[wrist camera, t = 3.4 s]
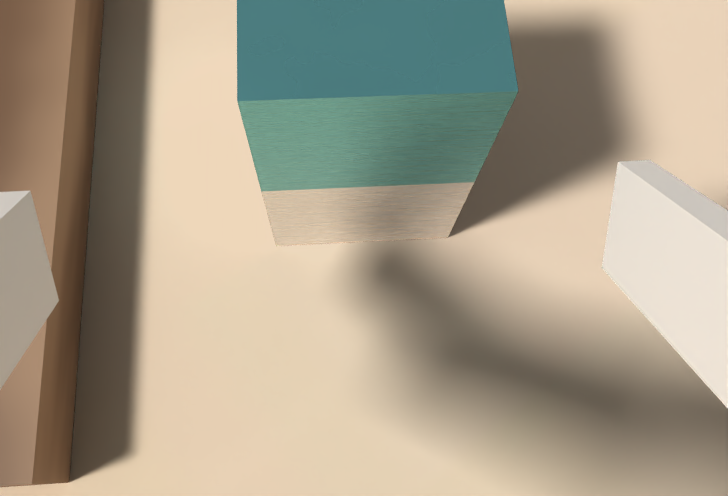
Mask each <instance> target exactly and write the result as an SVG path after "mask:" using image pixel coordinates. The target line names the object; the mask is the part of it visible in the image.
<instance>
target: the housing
mask: <svg viewBox="0 0 728 496" xmlns="http://www.w3.org/2000/svg"><path fill="white" fill-rule="evenodd" d="M517 93H518V86H517V80H516V73H515V67H514V61H513V55H512V49H511V42H510V36H509V30H508V24H507V18H506V11H505V5H504V0H237V101H238V105H239V109H240V112H241V116H242V120H243V124H244V128H245V131H246V135H247V139H248V143H249V146H250V150H251V154H252V158H253V161H254V165H255V169H256V173H257V176H258V180H259V184H260V188H261V191H262V195H263V199H264V203H265V206H266V210H267V214H268V218H269V221H270V225H271V229H272V233H273V237H274V240H275V244H276V246H289V245H310V244H330V243H351V242H371V241H392V240H413V239H433V238H448V236H449V234H450V232H451V230H452V228H453V226H454V224H455V222H456V219H457V217H458V215H459V213H460V211H461V209H462V207H463V205H464V203H465V201H466V199H467V197H468V195H469V193H470V190H471V188H472V186H473V184H474V182H475V180H476V178H477V176H478V174H479V172H480V170H481V168H482V166H483V164H484V161H485V159H486V157H487V155H488V153H489V151H490V149H491V147H492V145H493V143H494V141H495V139H496V137H497V135H498V132H499V130H500V128H501V126H502V124H503V122H504V120H505V118H506V116H507V114H508V112H509V110H510V108H511V106H512V103H513V101H514V99H515V97H516V95H517Z"/></svg>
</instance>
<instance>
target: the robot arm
mask: <svg viewBox="0 0 728 496" xmlns="http://www.w3.org/2000/svg"><path fill="white" fill-rule="evenodd" d="M602 269H603V270H604V271H605V272H606V273H607V274H608V275H609V277H610V278H611V279H612V280H613V281H614V282H615V283H616V284H617V285H618V287H619V288H620V289H621V290H622V291H623V292H624V293H625V294H626V296H627V297H628V298H629V299H630V300H631V301H632V302H633V303H634V304H635V306H636V307H637V308H638V309H639V310H640V311H641V312H642V313H643V315H644V316H645V317H646V318H647V319H648V320H649V321H650V322H651V323H652V325H653V326H654V327H655V328H656V329H657V330H658V331H659V332H660V334H661V335H662V336H663V337H664V338H665V339H666V340H667V341H668V342H669V344H670V345H671V346H672V347H673V348H674V349H675V350H676V351H677V353H678V354H679V355H680V356H681V357H682V358H683V359H684V360H685V361H686V363H687V364H688V365H689V366H690V367H691V368H692V369H693V370H694V372H695V373H696V374H697V375H698V376H699V377H700V378H701V379H702V380H703V382H704V383H705V384H706V385H707V386H708V387H709V388H710V389H711V391H712V392H713V393H714V394H715V395H716V396H717V397H718V398H719V399H720V401H721V402H722V403H723V404H724V405H725V406H726V407H727V408H728V210H726V209H724V208H723V207H721V206H720V205H718V204H717V203H715V202H714V201H712V200H711V199H709V198H708V197H706V196H705V195H703V194H701V193H700V192H698V191H697V190H695V189H694V188H692V187H691V186H689V185H688V184H686V183H685V182H683V181H682V180H680V179H678V178H677V177H675V176H674V175H672V174H671V173H669V172H668V171H666V170H665V169H663V168H662V167H660V166H659V165H657V164H655V163H654V162H652V161H651V160H641V161H620V162H618V165H617V171H616V178H615V185H614V191H613V198H612V204H611V211H610V217H609V224H608V230H607V237H606V243H605V250H604V256H603V263H602ZM58 301H59V299H58V295H57V291H56V287H55V283H54V279H53V275H52V272H51V268H50V264H49V260H48V256H47V252H46V248H45V245H44V241H43V237H42V233H41V229H40V225H39V221H38V218H37V214H36V210H35V206H34V202H33V198H32V194H31V191H12V192H0V389H1V388H2V386H3V385H4V383H5V382H6V380H7V379H8V377H9V376H10V374H11V373H12V371H13V370H14V368H15V367H16V365H17V364H18V362H19V361H20V359H21V358H22V356H23V354H24V353H25V351H26V350H27V348H28V347H29V345H30V344H31V342H32V341H33V339H34V338H35V336H36V335H37V333H38V332H39V330H40V329H41V327H42V326H43V324H44V323H45V321H46V320H47V318H48V317H49V315H50V314H51V312H52V311H53V309H54V307H55V306H56V304H57V303H58Z"/></svg>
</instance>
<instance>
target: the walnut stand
mask: <svg viewBox="0 0 728 496" xmlns="http://www.w3.org/2000/svg"><path fill="white" fill-rule="evenodd" d="M103 11H104V0H0V192H12V191H31V194H32V198H33V202H34V206H35V210H36V214H37V218H38V221H39V225H40V229H41V233H42V237H43V241H44V245H45V248H46V252H47V256H48V260H49V264H50V268H51V272H52V275H53V279H54V283H55V287H56V291H57V295H58V299H59V301H58V303H57V304H56V306H55V307H54V309H53V311H52V312H51V314H50V315H49V317H48V318H47V320H46V321H45V323H44V324H43V326H42V327H41V329H40V330H39V332H38V333H37V335H36V336H35V338H34V339H33V341H32V342H31V344H30V345H29V347H28V348H27V350H26V351H25V353H24V354H23V356H22V358H21V359H20V361H19V362H18V364H17V365H16V367H15V368H14V370H13V371H12V373H11V374H10V376H9V377H8V379H7V380H6V382H5V383H4V385H3V386H2V388H1V389H0V487H9V486H24V485H39V484H53V483H68V482H69V476H70V462H71V449H72V435H73V421H74V408H75V394H76V380H77V367H78V353H79V339H80V325H81V312H82V298H83V284H84V271H85V257H86V243H87V230H88V216H89V202H90V189H91V175H92V161H93V147H94V134H95V120H96V106H97V93H98V79H99V65H100V52H101V38H102V24H103Z"/></svg>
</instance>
